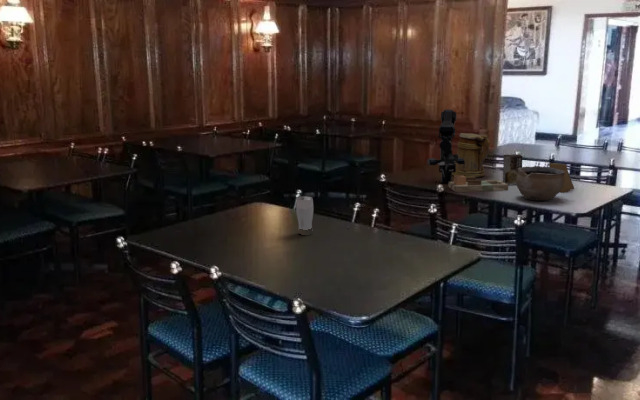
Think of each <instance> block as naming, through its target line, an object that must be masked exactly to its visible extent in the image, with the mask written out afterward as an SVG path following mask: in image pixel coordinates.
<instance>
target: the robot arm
mask: <svg viewBox="0 0 640 400" xmlns="http://www.w3.org/2000/svg"><path fill="white" fill-rule="evenodd" d="M440 121H441V123H440V126H439V128H438V138H439V139H440V143H439V152H440V157H439V159H436V158H435V157H431V158H428V159H427V160H426V164H427V165H429V166H438V167H439V168H438V173H441V177H440V178H441V180H439V182H440V183H441V184H449V182H452V181H453V175H452V172H453V173H454V172H456V164H455V163H458V164H464V162H465V161H464V159H463V158H461V157H458V155H457V153H456V154H453V150H452V149H453V148H452V147H453V139H455V137H456V128H455V124H456V122H457V112H456V111H454V110H453V109H443V111H442V112H441V113H440Z"/></svg>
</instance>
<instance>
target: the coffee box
mask: <svg viewBox="0 0 640 400" xmlns="http://www.w3.org/2000/svg"><path fill="white" fill-rule="evenodd" d="M523 158H524V157H523V155H522V154H520V153H519V154H503V163H502V164H503V165H502V182H504V183H506V184H508V186H517V184H516V180H517V176H518V174H519V173H518V168H521V167H523Z"/></svg>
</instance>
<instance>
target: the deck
mask: <svg viewBox="0 0 640 400" xmlns="http://www.w3.org/2000/svg"><path fill="white" fill-rule="evenodd" d="M447 185H448V188H449V189H450V190H452V191H454V192H455V193H475V192H476V193H477V192H479V191H481V192H500V191H501V192H503V190H508V191H509V185H508V184H506V183H504V182H503V180H500V179H483V180H481V179H477V178H476V177H466V185H456V184H454V180H452V182H449V183H447Z"/></svg>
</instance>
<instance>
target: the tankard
mask: <svg viewBox="0 0 640 400" xmlns="http://www.w3.org/2000/svg"><path fill="white" fill-rule="evenodd" d="M458 137H459V141H458V143H457V152H456V154H457V155H458V157H461V158H463V159H464V161H465V162H464V164H458V163H455V164H456V172H454V173H453V172H452V176H453V177H454V176H465V177H476V179H479V178H482V177H484V176H485V168H484V162H485V161H486V158H487V157H488V155H489V153H490V148H491V145H490V144H491V143H490V140H489V137H488V135H481V134H476V133H470V132H469V133H465V132H464V133H463V132H461V133H460V134H459V135H458Z"/></svg>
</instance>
